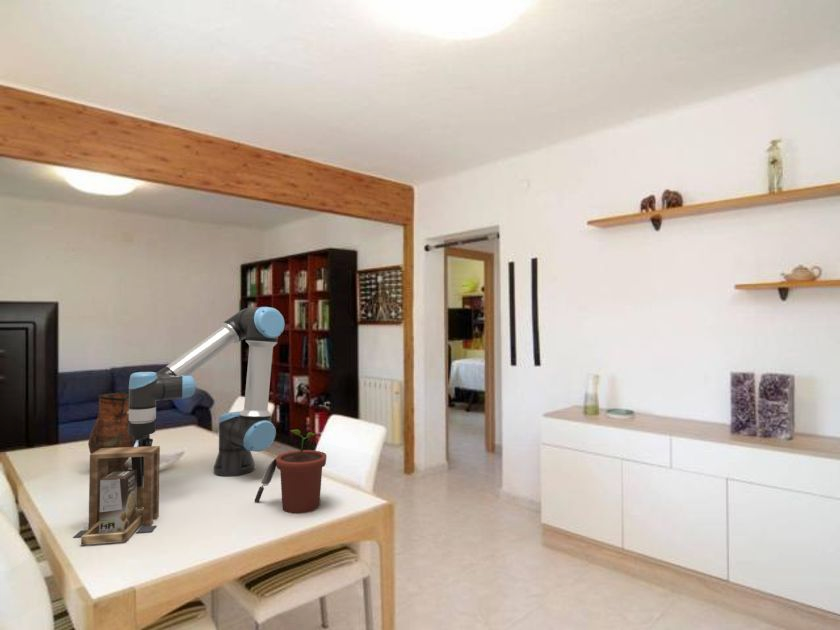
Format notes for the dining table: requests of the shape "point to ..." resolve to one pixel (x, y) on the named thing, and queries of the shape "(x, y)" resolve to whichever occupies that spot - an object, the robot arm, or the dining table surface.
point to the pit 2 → (146, 529)
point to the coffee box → (118, 501)
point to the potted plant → (297, 478)
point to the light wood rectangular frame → (93, 537)
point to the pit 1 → (80, 534)
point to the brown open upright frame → (150, 479)
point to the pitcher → (112, 428)
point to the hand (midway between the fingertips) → (140, 495)
